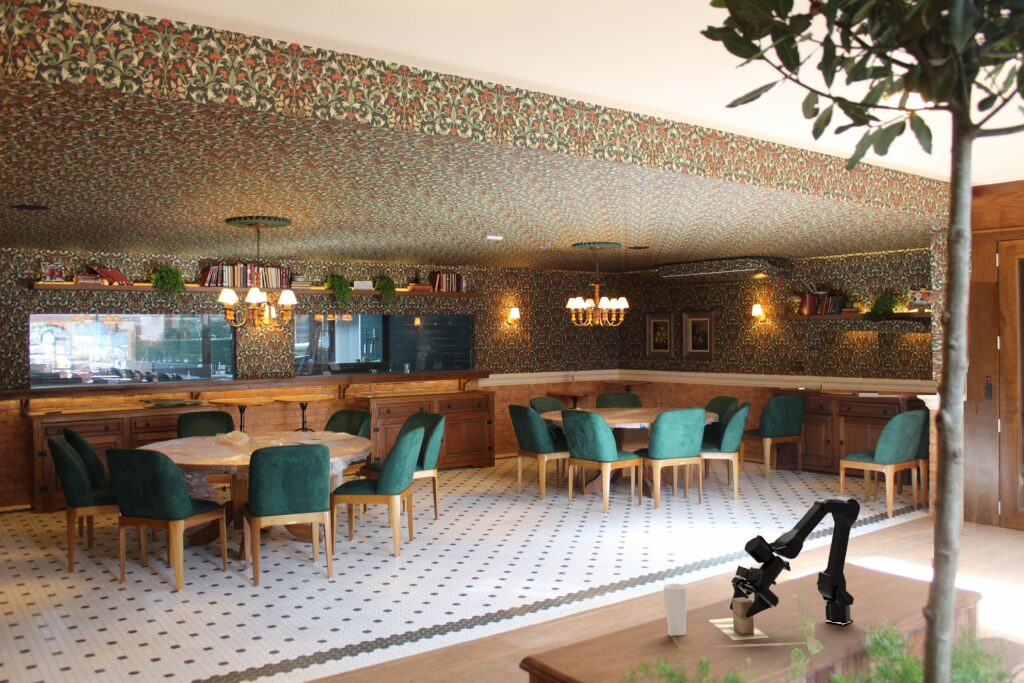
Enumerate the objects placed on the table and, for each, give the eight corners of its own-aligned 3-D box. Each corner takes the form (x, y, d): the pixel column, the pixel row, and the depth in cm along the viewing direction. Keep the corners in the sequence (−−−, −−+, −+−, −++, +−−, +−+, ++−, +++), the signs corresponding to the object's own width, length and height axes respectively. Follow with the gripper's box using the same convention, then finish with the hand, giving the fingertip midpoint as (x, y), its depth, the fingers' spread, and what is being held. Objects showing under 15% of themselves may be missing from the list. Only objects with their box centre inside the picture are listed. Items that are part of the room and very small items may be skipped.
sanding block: (745, 629, 263) (743, 597, 263) (754, 634, 258) (752, 601, 258) (733, 631, 262) (732, 598, 262) (742, 635, 257) (740, 602, 257)
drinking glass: (675, 640, 258) (672, 590, 259) (661, 634, 264) (659, 585, 265) (693, 636, 261) (690, 586, 262) (679, 630, 267) (676, 582, 268)
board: (708, 622, 275) (708, 619, 275) (740, 619, 276) (740, 617, 276) (733, 642, 253) (733, 640, 253) (769, 639, 254) (769, 637, 254)
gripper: (734, 550, 271) (705, 589, 267) (767, 561, 253) (736, 603, 249) (758, 572, 273) (729, 611, 269) (792, 585, 255) (762, 627, 251)
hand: (738, 613), depth 260 cm, fingers open, 9 cm apart
